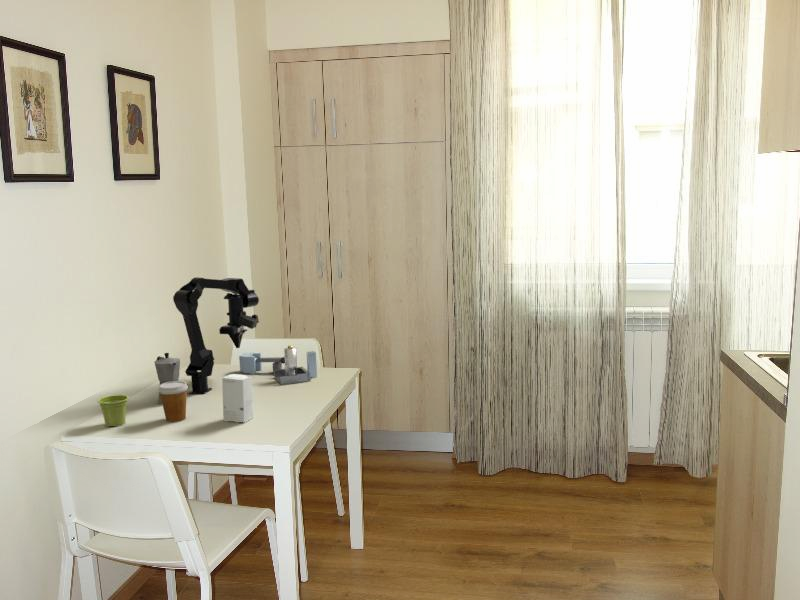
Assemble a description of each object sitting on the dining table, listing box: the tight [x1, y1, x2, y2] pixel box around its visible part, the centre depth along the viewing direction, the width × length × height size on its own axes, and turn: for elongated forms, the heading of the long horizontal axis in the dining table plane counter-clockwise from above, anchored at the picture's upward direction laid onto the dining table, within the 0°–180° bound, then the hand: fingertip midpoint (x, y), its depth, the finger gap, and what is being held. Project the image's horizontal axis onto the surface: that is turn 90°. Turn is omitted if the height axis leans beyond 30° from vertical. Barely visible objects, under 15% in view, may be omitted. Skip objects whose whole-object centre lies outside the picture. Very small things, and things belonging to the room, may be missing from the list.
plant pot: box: [97, 394, 129, 427], centre depth 241 cm, size 9×9×9 cm
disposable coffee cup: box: [157, 380, 189, 423], centre depth 244 cm, size 10×10×12 cm
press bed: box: [273, 350, 318, 386], centre depth 290 cm, size 16×12×10 cm
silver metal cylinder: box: [283, 345, 298, 376], centre depth 289 cm, size 5×5×13 cm
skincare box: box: [222, 373, 254, 424], centre depth 240 cm, size 8×6×15 cm
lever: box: [256, 356, 285, 365], centre depth 301 cm, size 4×14×2 cm, turn 77°
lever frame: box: [238, 352, 283, 375], centre depth 303 cm, size 7×17×7 cm, turn 77°
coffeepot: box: [154, 352, 181, 405], centre depth 266 cm, size 15×9×18 cm, turn 41°
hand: (237, 348), depth 293 cm, fingers closed
